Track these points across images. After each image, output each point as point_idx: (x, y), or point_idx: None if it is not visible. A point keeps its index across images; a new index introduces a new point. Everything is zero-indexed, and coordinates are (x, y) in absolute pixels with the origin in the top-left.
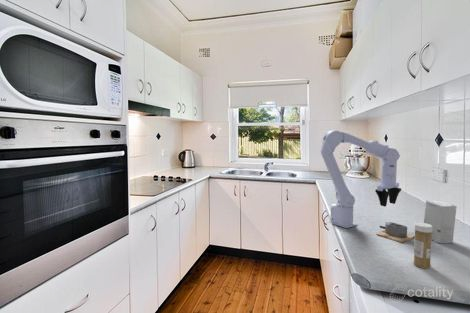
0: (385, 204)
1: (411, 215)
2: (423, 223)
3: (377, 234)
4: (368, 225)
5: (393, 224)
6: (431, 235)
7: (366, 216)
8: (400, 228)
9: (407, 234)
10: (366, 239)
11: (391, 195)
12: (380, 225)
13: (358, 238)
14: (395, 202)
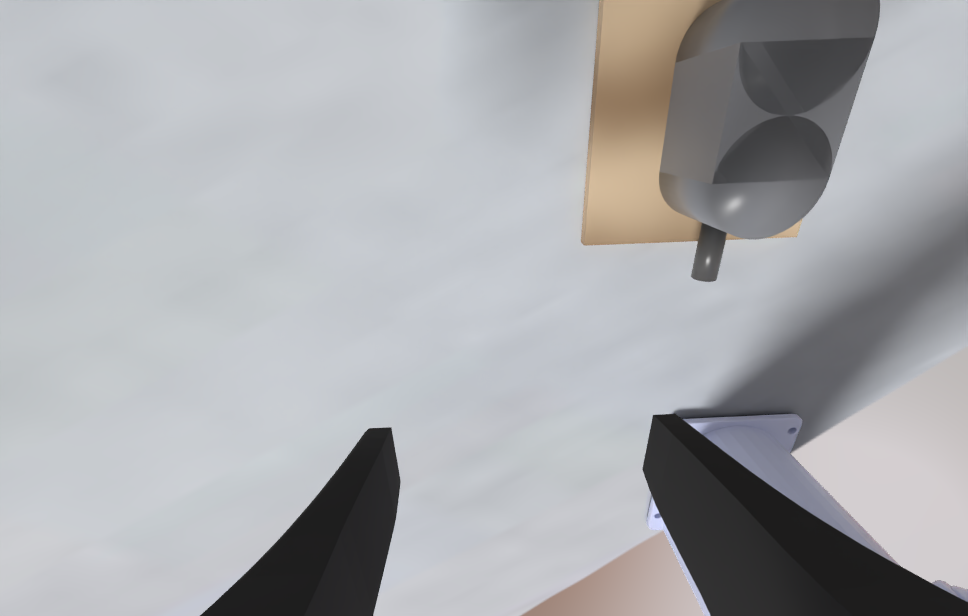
0: (700, 435)
1: (5, 347)
2: None
3: (794, 225)
4: (606, 380)
5: (779, 149)
6: None
7: (417, 490)
8: (872, 14)
9: (623, 48)
10: (950, 216)
11: (357, 612)
12: (709, 279)
13: (960, 261)
14: (363, 439)
